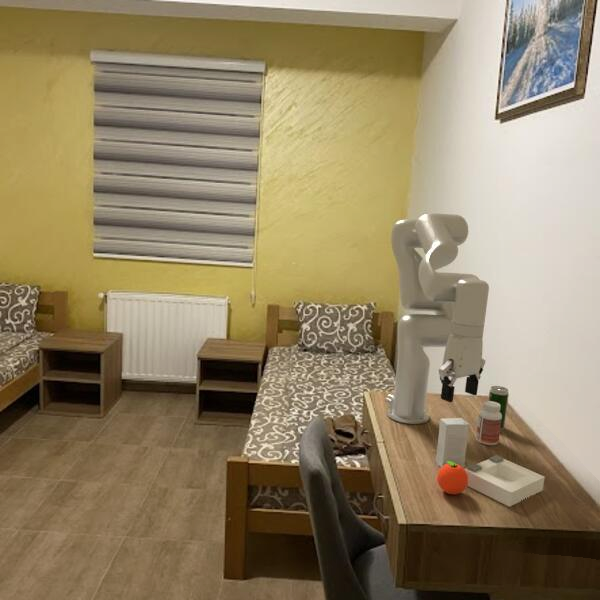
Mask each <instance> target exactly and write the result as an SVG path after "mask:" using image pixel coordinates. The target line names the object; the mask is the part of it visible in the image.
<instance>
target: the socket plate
mask: <svg viewBox="0 0 600 600" xmlns="http://www.w3.org/2000/svg"><path fill="white" fill-rule="evenodd" d="M464 470H465V471H466V473H467V476H468V484H467V487H469V488H471V489H473V490H475V491H477V492H479V493H481V494H483V495H484V496H487V497H489V498H491V499H493V500H495V501H497V502H499V503H500V504H502V505H505V506H507V507H512V506H514V505H516V504H518V503H521V502H522V501H524V500H526V499H528V498H530V497H532V496H534V495H537V494H538V493H540V492H543V490H544V483H545V478H546V476H544V475H542V474H539V473H536V472H535V471H533V470H530V469H529V468H526V467H524V466H521V465H519V464H518V463H517V464H516V463H514V462H512V461H510V460H508V459H505V458H504V457H501V456H499V455H497V454H496V455H493V456H490V457H489V458H488V459H486V460H483V461H481V462H479V463H473V464H470V465H469V466H468V465H467V467H464ZM536 493H537V494H536ZM531 495H532V496H531ZM529 496H530V497H529ZM527 497H528V498H527ZM525 498H526V499H525ZM523 499H524V500H523ZM521 500H522V501H521Z"/></svg>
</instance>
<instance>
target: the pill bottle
mask: <svg viewBox="0 0 600 600" xmlns="http://www.w3.org/2000/svg"><path fill="white" fill-rule="evenodd" d="M500 407H501V405H500V404H499V403H497V402H493V401H488V400H486V401H483V403H482V409H480V410H479V413H478V418H477V425H476V426H477V427H476V434H475V435H476V436H475V439H476V441H477V442H478V443H480V444H483V445H487V446H496V445H498V444H499V441H500V434H501V430H500V428H501V420H502V414H501V413H500V412H499V411H500Z"/></svg>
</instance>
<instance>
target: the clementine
mask: <svg viewBox="0 0 600 600" xmlns="http://www.w3.org/2000/svg"><path fill="white" fill-rule="evenodd" d="M444 463H445V462H444ZM444 463H443V464H444ZM447 463H449V464H446V465H444V466H443V465H442V466H443V467H440V469H439V470H438V472H437V476H436V477H437V478H436V479H437V484H438V486H439V488H440V489H441V490H442V491H443V492H445V493H447V494H448V495H459V494H461V493H462V492H464V491H465V489H466V488H467V487H468V486H467V484H468V476H467V473H466V471H465V470H464V469H465V467H464V468H462V467H461V466H460V465H458V464H455V463H454V462H451V461H448V462H447Z"/></svg>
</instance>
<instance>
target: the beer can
mask: <svg viewBox="0 0 600 600" xmlns="http://www.w3.org/2000/svg"><path fill="white" fill-rule="evenodd" d="M509 396H510V395H509V389H508V387H505V386H501V385H492V386H490V389H489V393H488V399H487V401H493V402H497V403H499V404H500V405H501V407H500V411H499V412H500V413H501V414H502V420H501V428H500V431H502V430H503V429H504V428H505V423H506V415H507V410H508V409H507V408H508V401H509Z"/></svg>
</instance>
